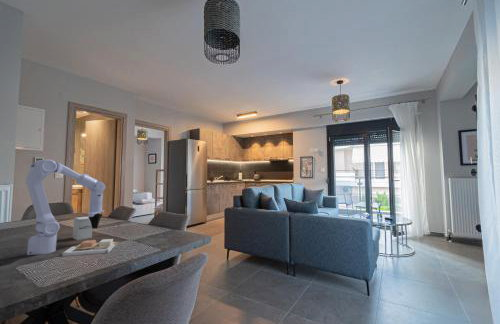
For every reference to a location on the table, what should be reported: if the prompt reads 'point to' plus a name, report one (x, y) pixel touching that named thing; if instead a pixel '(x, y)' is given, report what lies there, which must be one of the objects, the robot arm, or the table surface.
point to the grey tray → (70, 253)
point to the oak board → (94, 246)
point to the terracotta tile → (88, 243)
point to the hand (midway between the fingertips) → (94, 228)
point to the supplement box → (82, 228)
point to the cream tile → (105, 242)
